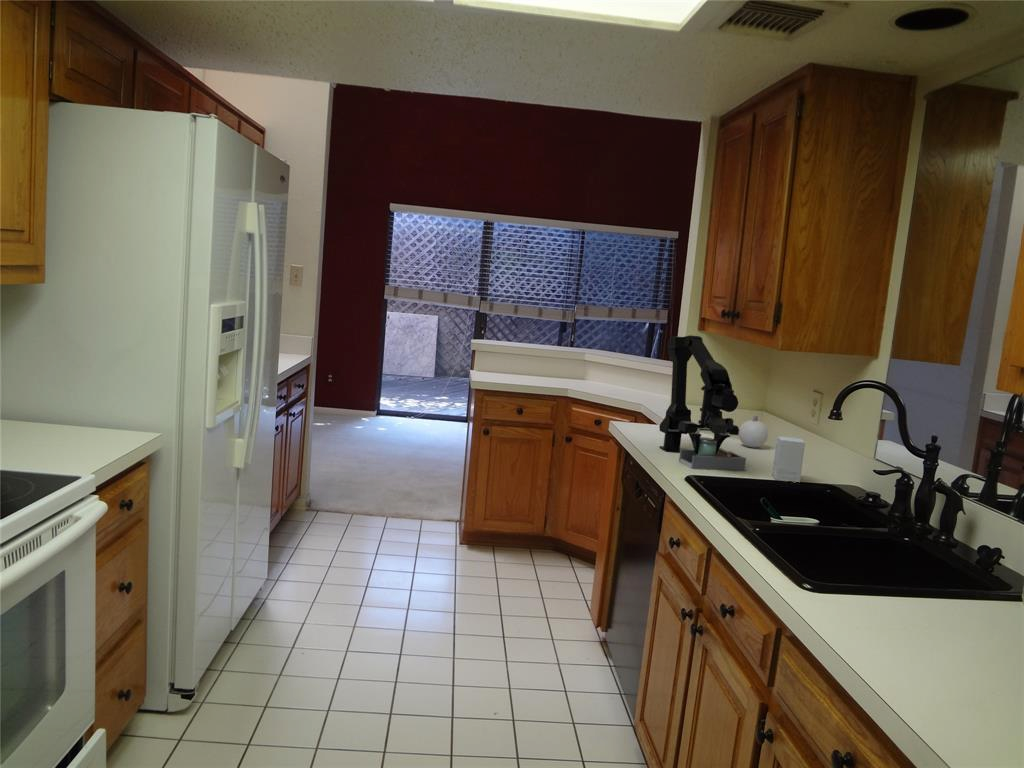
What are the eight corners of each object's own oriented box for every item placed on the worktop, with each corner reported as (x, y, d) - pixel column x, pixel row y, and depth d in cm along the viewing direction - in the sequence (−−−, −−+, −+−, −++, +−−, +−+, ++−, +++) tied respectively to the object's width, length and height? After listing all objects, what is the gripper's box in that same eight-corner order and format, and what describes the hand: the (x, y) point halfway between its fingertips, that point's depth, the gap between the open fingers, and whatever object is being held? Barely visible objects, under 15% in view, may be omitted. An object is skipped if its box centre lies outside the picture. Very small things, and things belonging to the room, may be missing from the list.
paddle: (714, 462, 249) (715, 447, 249) (718, 463, 250) (720, 448, 249) (725, 468, 242) (726, 453, 241) (729, 468, 242) (731, 453, 242)
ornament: (756, 451, 278) (760, 418, 277) (732, 445, 286) (736, 413, 284) (771, 449, 285) (775, 417, 284) (747, 443, 293) (751, 412, 291)
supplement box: (800, 483, 231) (805, 442, 230) (774, 480, 233) (780, 439, 231) (796, 478, 238) (801, 438, 237) (771, 474, 240) (776, 435, 238)
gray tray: (678, 461, 248) (680, 449, 247) (729, 463, 252) (730, 451, 251) (692, 468, 238) (694, 456, 238) (744, 470, 242) (746, 458, 242)
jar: (691, 458, 246) (694, 436, 246) (709, 458, 248) (711, 437, 247) (700, 462, 241) (703, 440, 240) (718, 463, 242) (720, 441, 241)
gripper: (695, 409, 232) (689, 459, 234) (750, 412, 236) (744, 461, 238) (680, 403, 243) (674, 451, 245) (733, 406, 247) (727, 453, 249)
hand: (705, 454), depth 244 cm, fingers closed on jar, 6 cm apart
